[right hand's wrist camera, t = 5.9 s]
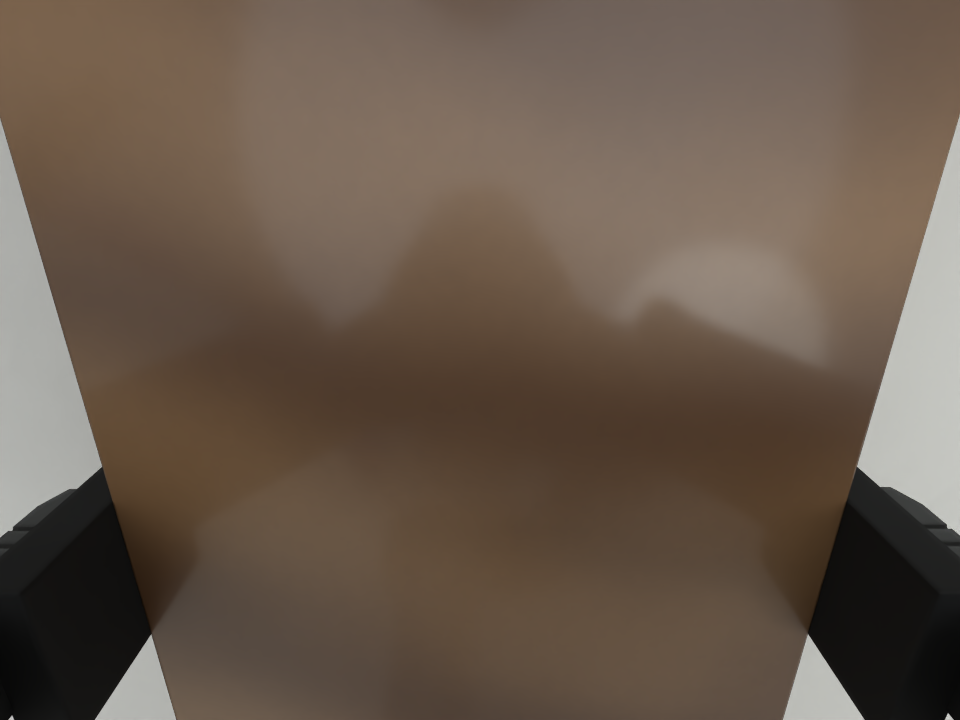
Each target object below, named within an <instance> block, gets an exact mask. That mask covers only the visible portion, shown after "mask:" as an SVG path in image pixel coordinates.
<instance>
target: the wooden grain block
mask: <svg viewBox="0 0 960 720" xmlns="http://www.w3.org/2000/svg"><path fill="white" fill-rule="evenodd" d="M959 115H960V0H0V119H1V122H2V125H3V129H4V132H5V136H6V139H7V142H8V146H9V149H10V153H11V156H12V160H13V163H14V166H15V170H16V173H17V177H18V180H19V183H20V187H21V190H22V194H23V197H24V201H25V204H26V207H27V211H28V214H29V218H30V221H31V224H32V228H33V231H34V235H35V238H36V242H37V245H38V248H39V252H40V255H41V259H42V262H43V265H44V269H45V272H46V276H47V279H48V283H49V286H50V289H51V293H52V296H53V300H54V303H55V306H56V310H57V313H58V317H59V320H60V324H61V327H62V330H63V334H64V337H65V341H66V344H67V347H68V351H69V354H70V358H71V361H72V365H73V368H74V371H75V375H76V378H77V382H78V385H79V388H80V392H81V395H82V399H83V402H84V406H85V409H86V412H87V416H88V419H89V423H90V426H91V429H92V433H93V436H94V440H95V443H96V447H97V450H98V453H99V457H100V460H101V464H102V467H103V470H104V474H105V477H106V481H107V484H108V488H109V491H110V494H111V498H112V501H113V505H114V508H115V511H116V515H117V518H118V522H119V525H120V528H121V532H122V535H123V539H124V542H125V546H126V549H127V552H128V556H129V559H130V563H131V566H132V569H133V573H134V576H135V580H136V583H137V587H138V590H139V593H140V597H141V600H142V604H143V607H144V610H145V614H146V617H147V621H148V624H149V628H150V631H151V634H152V638H153V641H154V645H155V648H156V651H157V655H158V658H159V662H160V665H161V669H162V672H163V675H164V679H165V682H166V686H167V689H168V692H169V696H170V699H171V703H172V706H173V710H174V713H175V716H176V720H783V717H784V714H785V710H786V707H787V704H788V700H789V697H790V693H791V690H792V686H793V683H794V680H795V676H796V673H797V669H798V666H799V663H800V659H801V656H802V652H803V649H804V645H805V642H806V639H807V635H808V632H809V628H810V625H811V621H812V618H813V615H814V611H815V608H816V604H817V601H818V598H819V594H820V591H821V587H822V584H823V580H824V577H825V574H826V570H827V567H828V563H829V560H830V556H831V553H832V550H833V546H834V543H835V539H836V536H837V533H838V529H839V526H840V522H841V519H842V515H843V512H844V509H845V505H846V502H847V498H848V495H849V492H850V488H851V485H852V481H853V478H854V474H855V471H856V468H857V464H858V461H859V457H860V454H861V450H862V447H863V444H864V440H865V437H866V433H867V430H868V427H869V423H870V420H871V416H872V413H873V409H874V406H875V403H876V399H877V396H878V392H879V389H880V385H881V382H882V379H883V375H884V372H885V368H886V365H887V362H888V358H889V355H890V351H891V348H892V344H893V341H894V338H895V334H896V331H897V327H898V324H899V320H900V317H901V314H902V310H903V307H904V303H905V300H906V297H907V293H908V290H909V286H910V283H911V279H912V276H913V273H914V269H915V266H916V262H917V259H918V256H919V252H920V249H921V245H922V242H923V238H924V235H925V232H926V228H927V225H928V221H929V218H930V214H931V211H932V208H933V204H934V201H935V197H936V194H937V191H938V187H939V184H940V180H941V177H942V173H943V170H944V167H945V163H946V160H947V156H948V153H949V149H950V146H951V143H952V139H953V136H954V132H955V129H956V126H957V122H958V119H959Z"/></svg>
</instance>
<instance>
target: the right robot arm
mask: <svg viewBox="0 0 960 720" xmlns="http://www.w3.org/2000/svg"><path fill="white" fill-rule="evenodd" d="M808 634H809V636H810V637H811V639H812V640H813V642H814V643H815V645H816V647H817V648H818V650H819V651H820V653H821V654H822V656H823V657H824V659H825V660H826V662H827V663H828V665H829V666H830V668H831V669H832V671H833V672H834V674H835V675H836V677H837V678H838V680H839V681H840V683H841V684H842V686H843V688H844V689H845V691H846V692H847V694H848V695H849V697H850V698H851V700H852V701H853V703H854V704H855V706H856V707H857V709H858V710H859V712H860V713H861V715H862V716H863V718H864V719H865V720H945V718H946V716H947V714H948V713H949V714H950V716H951V717H952V718H953V719H954V720H960V535H958V534H957V533H956V532H955V531H954V530H952V529H948V528H947V525H946V524H945V523H944V522H943V521H942V520H941V519H939V518H938V517H937V516H936V515H935V514H933V513H932V512H931V511H930V510H929V509H927V508H926V507H925V506H924V505H923V504H921V503H919V502H917V501H915V500H913V499H911V498H910V497H908V496H906V495H904V494H902V493H900V492H898V491H897V490H895V489H893V488H891V487H879V486H878V485H877V484H876V483H875V482H874V481H872V480H871V479H870V478H869V477H868V476H867V475H866V474H865V473H863V472H862V471H861V470H860V469H859V468H858V467H857V468H856V471H855V474H854V478H853V481H852V485H851V488H850V492H849V495H848V498H847V502H846V505H845V509H844V512H843V515H842V519H841V522H840V526H839V529H838V533H837V536H836V539H835V543H834V546H833V550H832V553H831V556H830V560H829V563H828V567H827V570H826V574H825V577H824V580H823V584H822V587H821V591H820V594H819V598H818V601H817V604H816V608H815V611H814V615H813V618H812V621H811V625H810V628H809V632H808ZM150 635H151V631H150V628H149V624H148V621H147V617H146V614H145V610H144V607H143V604H142V600H141V597H140V593H139V590H138V587H137V583H136V580H135V576H134V573H133V569H132V566H131V563H130V559H129V556H128V552H127V549H126V546H125V542H124V539H123V535H122V532H121V528H120V525H119V522H118V518H117V515H116V511H115V508H114V505H113V501H112V498H111V494H110V491H109V488H108V484H107V481H106V477H105V474H104V470H103V467H102V468H100V469H99V470H98V471H97V472H96V473H95V474H94V475H93V476H91V477H90V478H89V479H88V480H87V481H86V482H85V483H83V484H82V485H81V486H80V487H79V488H78V489H69V490H67V491H65V492H63V493H61V494H60V495H58V496H56V497H54V498H52V499H50V500H49V501H47V502H45V503H43V504H41V505H39V506H38V507H36V508H35V509H34V510H33V511H32V512H30V513H29V514H28V515H27V516H26V517H24V518H23V519H22V520H21V521H20V522H18V523H17V524H16V525H15V526H14V527H13V530H12V531H8V532H7V533H5V534H4V535H3V536H2V537H1V538H0V720H8V719H9V718H10V717H11V716H13V718H14V720H95V719H96V717H97V715H98V714H99V712H100V711H101V709H102V708H103V706H104V705H105V703H106V702H107V700H108V699H109V697H110V696H111V694H112V693H113V691H114V690H115V688H116V687H117V685H118V684H119V682H120V681H121V679H122V678H123V676H124V674H125V673H126V671H127V670H128V668H129V667H130V665H131V664H132V662H133V661H134V659H135V658H136V656H137V655H138V653H139V652H140V650H141V649H142V647H143V646H144V644H145V643H146V641H147V640H148V638H149V636H150Z"/></svg>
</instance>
